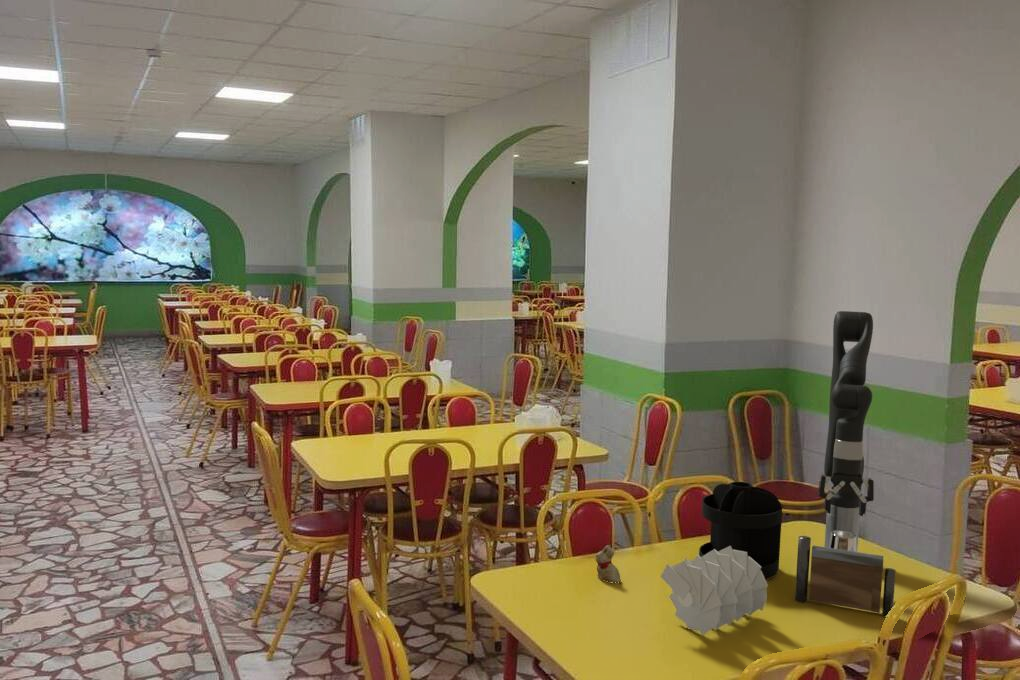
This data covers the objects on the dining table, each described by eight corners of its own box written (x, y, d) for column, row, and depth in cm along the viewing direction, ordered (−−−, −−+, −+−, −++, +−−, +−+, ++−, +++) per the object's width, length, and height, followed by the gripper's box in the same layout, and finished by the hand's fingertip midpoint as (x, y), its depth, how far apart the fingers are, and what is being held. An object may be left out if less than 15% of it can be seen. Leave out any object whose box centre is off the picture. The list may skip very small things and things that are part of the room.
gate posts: (795, 597, 226) (799, 535, 225) (892, 614, 217) (896, 549, 215) (794, 601, 223) (798, 538, 222) (892, 618, 214) (897, 553, 213)
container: (744, 551, 261) (749, 471, 258) (793, 578, 240) (799, 492, 237) (682, 559, 253) (686, 476, 251) (727, 587, 232) (732, 498, 229)
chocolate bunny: (611, 573, 240) (613, 538, 239) (622, 583, 233) (624, 548, 232) (593, 574, 239) (594, 539, 238) (604, 585, 231) (605, 549, 230)
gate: (809, 596, 225) (812, 545, 223) (879, 609, 218) (883, 555, 217) (808, 600, 222) (811, 548, 221) (879, 613, 215) (883, 559, 214)
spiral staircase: (756, 631, 214) (696, 654, 198) (706, 582, 226) (645, 600, 210) (790, 576, 207) (730, 595, 191) (737, 528, 219) (676, 543, 203)
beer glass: (855, 593, 230) (859, 539, 229) (828, 590, 232) (832, 536, 230) (851, 583, 237) (854, 531, 236) (824, 581, 238) (828, 528, 237)
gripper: (872, 456, 239) (868, 513, 240) (818, 452, 242) (815, 508, 243) (878, 460, 232) (874, 519, 232) (822, 456, 234) (819, 514, 235)
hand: (844, 514), depth 237 cm, fingers open, 8 cm apart
